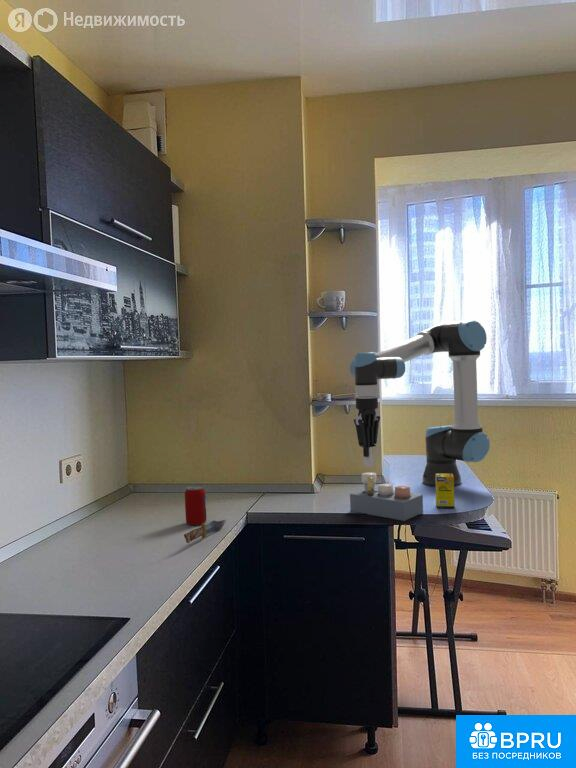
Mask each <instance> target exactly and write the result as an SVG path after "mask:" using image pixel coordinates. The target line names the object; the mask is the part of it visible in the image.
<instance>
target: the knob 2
mask: <svg viewBox="0 0 576 768" xmlns="http://www.w3.org/2000/svg"><path fill="white" fill-rule="evenodd" d="M377 488H378V494H379V495H381V496H390V495H393V490H394V485H393V484H391V483H380V484H378V485H377Z"/></svg>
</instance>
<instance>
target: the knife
mask: <svg viewBox="0 0 576 768" xmlns="http://www.w3.org/2000/svg"><path fill="white" fill-rule="evenodd" d="M226 521H227V518H225V519H222V520H219V521H218V520H212V521H209V522H207V523H206V524H205V523H202V524H201V525H200V527H196V528H194V529H192V530H191V531H189V532H187V533H184V535H183V537H184V539H185V543H187V544H190V543H191V542H193V541H194V540H197V539H198V538H200V537H201V539H202V540H204V539H205V538H206V536H207V535H209V534H211V533H217V532H219V531H221V530H222V529H223V527H224V526H225V523H226Z"/></svg>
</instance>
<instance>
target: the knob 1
mask: <svg viewBox="0 0 576 768" xmlns="http://www.w3.org/2000/svg"><path fill="white" fill-rule="evenodd" d="M368 477H373V481H374V485H375V484H377V481H378V480H377V479H378V478H377V472H363V473H361V483H362V485H364V489H365V493H368V481H367V478H368ZM375 488H376V487H374V493H375Z"/></svg>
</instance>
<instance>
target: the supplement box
mask: <svg viewBox="0 0 576 768" xmlns="http://www.w3.org/2000/svg"><path fill="white" fill-rule="evenodd" d="M435 480H436V486H435V504H436V506H435V507H436V509H456V508H455V485H454V476H453V474H435Z"/></svg>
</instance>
